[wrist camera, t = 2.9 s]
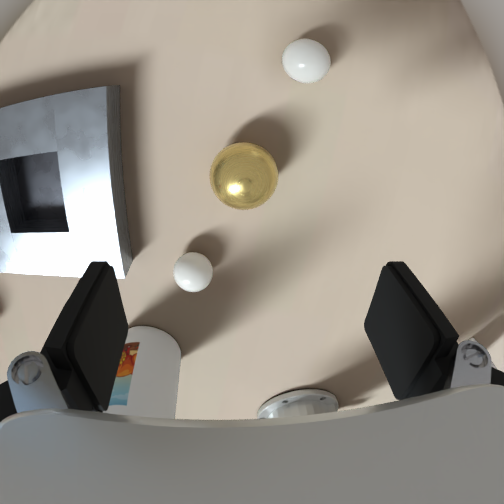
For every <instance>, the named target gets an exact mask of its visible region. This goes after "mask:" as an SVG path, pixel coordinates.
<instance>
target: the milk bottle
mask: <svg viewBox="0 0 504 504" xmlns="http://www.w3.org/2000/svg"><path fill="white" fill-rule="evenodd" d="M180 363H181V351H180V348H179V345H178V344H177V342H176V340H175V339H174V338H173V337H172V336H170V335H169V334H168V333H166V332H164V331H162V330H160V329H157V328H154V327H150V326H136V327H132V328H129V329H128V335H127V338H126V342H125V345H124V349H123V352H122V356H121V360H120V363H119V367H118V371H117V375H116V378H115V382H114V386H113V390H112V394H111V398H110V403H109V407H108V410H107V411H103V413H110V414H118V415H128V416H140V417H153V418H168V419H175V412H176V402H177V392H178V382H179V372H180Z"/></svg>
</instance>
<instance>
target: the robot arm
mask: <svg viewBox="0 0 504 504" xmlns="http://www.w3.org/2000/svg"><path fill="white" fill-rule="evenodd" d="M364 328H365V331H366V334H367V336H368V338H369V340H370V342H371V344H372V346H373V349H374V351H375V353H376V355H377V357H378V360H379V362H380V364H381V366H382V369H383V371H384V373H385V375H386V378H387V380H388V382H389V385H390V387H391V389H392V392H393V394H394V396H395V398H396V399H397V400H399V401H394V402H390V403H385V404H380V405H374V406H369V407H363V408H357V409H351V410H344V411H338V402H337V399H336V397H335V396H334V395H333V394H331V393H330V392H327V391H324V390H318V389H305V390H297V391H292V392H288V393H284V394H282V395H279V396H277V397H275V398H273V399H270V400H269V401H267V402H266V403H265V404H264V405H262V406H261V407H260V409H259V410H258V413H257V419H243V420H190V419H168V418H153V417H140V416H128V415H118V414H110V413H103V411H107V410H108V407H109V403H110V398H111V394H112V390H113V386H114V382H115V378H116V375H117V371H118V367H119V363H120V360H121V356H122V352H123V349H124V345H125V342H126V338H127V335H128V323H127V319H126V316H125V312H124V308H123V304H122V300H121V296H120V292H119V287H118V283H117V278H116V274H115V269H114V267H113V266H112V265H109V263H108V262H107V261H91V262H90V264H89V265H88V267H87V269H86V270H85V272H84V274H83V275H82V277H81V279H80V280H79V282H78V284H77V286H76V287H75V289H74V291H73V292H72V294H71V296H70V298H69V299H68V301H67V302H66V304H65V306H64V307H63V309H62V311H61V313H60V315H59V317H58V319H57V320H56V322H55V324H54V326H53V328H52V330H51V332H50V334H49V336H48V338H47V340H46V342H45V344H44V346H43V348H42V350H41V352H40V353H39V352H35V351H28V352H25V353H22V354H20V355H19V356H17V357H16V358H15V359H14V360H13V361H12V362H11V364H10V365H9V367H8V371H7V379H8V380H7V381H5V382H4V383H2V384H0V504H504V372H502V371H500V370H497V369H495V368H493V367H491V365H492V361H491V356H490V354H489V352H488V351H487V350H486V348H485V347H483V346H482V345H481V344H479V343H477V342H475V341H471V340H466V341H463V342H461V343H460V344H459V345H458V343H457V342H456V341H457V339H458V337H459V335H458V333H457V332H456V331H455V329H454V328H453V326H452V325H451V323H450V322H449V321H448V319H447V318H446V316H445V315H444V314H443V312H442V311H441V309H440V308H439V307H438V305H437V304H436V303H435V301H434V300H433V299H432V297H431V296H430V295H429V293H428V292H427V291H426V289H425V288H424V287H423V285H422V284H421V283H420V282H419V280H418V279H417V278H416V276H415V275H414V274H413V273H412V271H411V270H410V269H409V268H408V266H407V265H406V264H405V263H404V262H388V263H387V264H386V266H383V268H382V270H381V274H380V277H379V280H378V283H377V286H376V289H375V293H374V296H373V299H372V302H371V304H370V307H369V310H368V313H367V316H366V319H365V322H364Z"/></svg>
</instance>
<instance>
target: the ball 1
mask: <svg viewBox="0 0 504 504" xmlns="http://www.w3.org/2000/svg"><path fill="white" fill-rule="evenodd" d="M173 274H174V279H175V281H176V283H177V284H178V285H179V286H180V287H181V288H182V289H184V290H186V291H189V292H198V291H201V290H203V289H204V288H206V287H207V286H208V285H209V283H210V282H211V279H212V276H213V268H212V265H211V263H210V261H209V260H208V259H207V258H206V257H205V256H204V255H202V254H200V253H196V252H190V253H186V254H184V255H182V256H181V257H180V258H179V259H178V260H177V261H176V263H175V265H174V270H173Z"/></svg>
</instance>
